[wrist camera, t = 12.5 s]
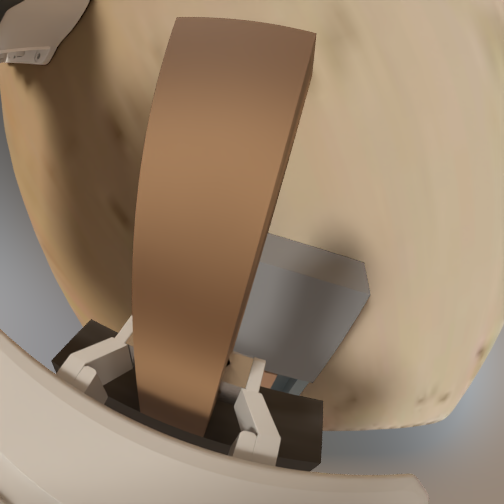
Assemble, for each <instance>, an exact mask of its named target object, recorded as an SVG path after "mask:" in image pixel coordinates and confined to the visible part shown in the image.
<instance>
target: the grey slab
mask: <svg viewBox="0 0 504 504" xmlns="http://www.w3.org/2000/svg"><path fill="white" fill-rule="evenodd" d="M369 296H370V290H369V285H368V280H367V275H366V270H365V265H364V263H363V262H360V261H357V260H354V259H351V258H348V257H345V256H341V255H338V254H335V253H332V252H329V251H326V250H322V249H319V248H316V247H313V246H309V245H306V244H303V243H300V242H296V241H293V240H290V239H286V238H283V237H280V236H276V235H273V234H270V233H268V234H267V238H266V241H265V244H264V248H263V251H262V255H261V258H260V262H259V265H258V268H257V272H256V275H255V279H254V282H253V285H252V289H251V292H250V296H249V299H248V302H247V306H246V309H245V312H244V316H243V319H242V322H241V326H240V329H239V332H238V336H237V339H236V342H235V346H234V349H233V351H236V352H240V353H243V354H247V355H250V356H254V357H256V358H259V359H263V360H266V364H265V369H264V371H268V372H272V373H275V374H279V375H283V376H286V377H290V378H294V379H298V380H302V381H307V382H311V383H313V382H314V380H315V379H316V378H317V376H318V375H319V374H320V372H321V371H322V369H323V368H324V367H325V365H326V364H327V362H328V361H329V359H330V358H331V357H332V355H333V354H334V352H335V351H336V349H337V348H338V346H339V345H340V343H341V342H342V340H343V339H344V337H345V336H346V334H347V332H348V331H349V329H350V328H351V326H352V324H353V323H354V321H355V320H356V318H357V316H358V315H359V313H360V311H361V310H362V308H363V306H364V305H365V303H366V301H367V299H368V298H369Z"/></svg>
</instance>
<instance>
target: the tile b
mask: <svg viewBox="0 0 504 504" xmlns="http://www.w3.org/2000/svg"><path fill="white" fill-rule="evenodd" d="M277 375H278V374H275V373H272V372H268V371H264V373H263V377H262V381H261V385H260V386H262V387H265V388H269V389H270V388H271V386H272V384H273V382H274V381H275V379H276V377H277Z"/></svg>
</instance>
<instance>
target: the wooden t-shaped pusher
mask: <svg viewBox="0 0 504 504" xmlns="http://www.w3.org/2000/svg"><path fill="white" fill-rule="evenodd" d="M315 42H316V33H313V32H309V31H304V30H300V29H295V28H291V27H286V26H280V25H275V24H269V23H262V22H255V21H247V20H237V19H225V18H207V17H177V18H176V21H175V24H174V27H173V30H172V33H171V36H170V39H169V42H168V45H167V49H166V52H165V55H164V59H163V62H162V66H161V70H160V73H159V77H158V81H157V85H156V89H155V93H154V98H153V102H152V107H151V111H150V116H149V121H148V126H147V132H146V137H145V143H144V149H143V155H142V162H141V169H140V176H139V184H138V193H137V202H136V213H135V225H134V240H133V261H132V323H133V344H134V359H135V368H134V367H133V369H131V370H129V371H127V372H126V373H124V374H122V375H121V376H119V377H117V378H115V379H114V380H112V381H110V382H108V383H107V384H105V385H103V387H104V389H105V391H106V393H107V396H108V398H107V400H106V402H105V403H104V405H106V406H107V407H109V408H111V409H113V410H115V411H117V412H119V413H121V414H123V415H125V416H127V417H129V418H131V419H133V420H135V421H137V422H139V423H141V424H143V425H145V426H148V427H150V428H152V429H154V430H157V431H159V432H162V433H164V434H166V435H169V436H171V437H174V438H177V439H179V440H182V441H185V442H187V443H190V444H193V445H196V446H199V447H202V448H205V449H208V450H211V451H215V452H218V453H221V454H225V455H228V453H229V450H230V447H231V445H232V444H233V442H234V441H235V440H236V438H237V437H238V435H239V433H240V432H241V429H240V426H239V423H238V419H237V416H236V412H235V409H234V406H233V405H230V404H227V403H224V402H221V401H218V400H216V397H217V393H218V390H219V386H220V382H221V379H222V376H223V374H224V371H225V368H226V367H227V363H228V360H229V357H230V354H231V351H232V350H233V349H234V346H235V342H236V339H237V336H238V332H239V329H240V326H241V322H242V319H243V316H244V312H245V309H246V306H247V302H248V299H249V296H250V292H251V289H252V285H253V282H254V279H255V275H256V272H257V268H258V265H259V262H260V258H261V255H262V251H263V248H264V244H265V241H266V238H267V234H268V231H269V227H270V224H271V220H272V217H273V213H274V210H275V206H276V203H277V199H278V196H279V192H280V189H281V185H282V182H283V178H284V175H285V171H286V168H287V164H288V161H289V157H290V153H291V150H292V146H293V143H294V139H295V136H296V132H297V128H298V125H299V121H300V117H301V114H302V110H303V107H304V103H305V99H306V96H307V92H308V88H309V85H310V81H311V77H312V71H313V61H314V52H315ZM117 334H118V333H117V332H115V331H113V330H111V329H109V328H107V327H105V326H103V325H101V324H99V323H97V322H95V321H94V320H92V319H91V320H90V321H89V322H88V323H87V324H86V325H85V326H84V327H83V328H82V329H81V330H80V331H79V332H78V333H77V335H75V336H74V337H73V338H72V340H71V341H70V342H69V343H68V344H67V345H66V346H65V347H64V348H63V349H62V350H61V351H60V352H59V353H58V354H57V355H56V356H55V357H54V358H53V360H52V363H53V366H54V369H55V371H56V373H57V372H58V370H59V369H60V368H61V366H62V365H63V364H64V362H65V361H66V360H67V358H68V357H69V355H70V354H72V353H74V352H77V351H79V350H82V349H84V348H87V347H89V346H92V345H94V344H97V343H99V342H101V341H104V340H106V339H109V338H111V337H113V338H115V337H116V336H117ZM259 393H261V394H262V395H263V398H264V400H265V402H266V405H267V407H268V410H269V412H270V414H271V417H272V419H273V421H274V424H275V426H276V428H277V431H278V433H279V435H280V438H281V441H280V446H279V451H278V455H277V460H276V465H275V466H276V467H282V468H288V469H295V470H302V471H311V470H312V469H314V468H315V467H316V466H318V465H319V464H320V463H321V449H322V425H323V401H321V400H316V399H311V398H307V397H302V396H298V395H293V394H289V393H285V392H281V391H277V390H273V389H269V388H265V387H262V386H260V389H259Z"/></svg>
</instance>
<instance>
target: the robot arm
mask: <svg viewBox="0 0 504 504" xmlns="http://www.w3.org/2000/svg"><path fill="white" fill-rule="evenodd" d="M89 1H90V0H0V63H1V62H6V63H26V64H39V65H46V64H48V63H49V61H50V60H51V58H52V56H53V54H54V52H55V50H56V48H57V46H58V45H59V44H60V42H61V41H62V40H63V39H64V38H65V37H66V36H67V35H68V33H69V32H70V31H71V30H72V29H73V27H74V26H75V25H76V23H77V22H78V20H79V19H80V17H81V16H82V14H83V12H84V11H85V9H86V7H87V5H88V3H89ZM265 364H266V360H263V359H259V358H256V357H254V356H250V355H247V354H243V353H240V352H236V351H233V350H232V351H231V354H230V357H229V360H228V363H227V367H226V368H225V371H224V374H223V376H222V379H221V382H220V386H219V390H218V393H217V397H216V400H218V401H221V402H224V403H227V404H230V405H233V406H234V409H235V412H236V416H237V419H238V423H239V426H240V429H241V432H240V433H239V435H238V437H237V438H236V440H235V441H234V442H233V444H232V445H231V447H230V450H229V453H228V455H225V454H221V453H218V452H215V451H211V450H208V449H205V448H202V447H199V446H196V445H193V444H190V443H187V442H185V441H182V440H179V439H177V438H174V437H171V436H169V435H166V434H164V433H162V432H159V431H157V430H154V429H152V428H150V427H148V426H145V425H143V424H141V423H139V422H137V421H135V420H133V419H131V418H129V417H127V416H125V415H123V414H121V413H119V412H117V411H115V410H113V409H111V408H109V407H107V406H106V405H104V403H105V402H106V400H107V398H108V396H107V393H106V391H105V389H104V387H103V385H105V384H107V383H108V382H110V381H112V380H114V379H115V378H117V377H119V376H121V375H122V374H124V373H126V372H127V371H129V370H131V369H133V367H134V368H135V359H134V344H133V323H132V315H131V316H130V318H129V319H128V321H127V322H126V323H125V325H124V326H123V327H122V329H121V330H120V332H119V333H118V334H117V336H116V337H115V338H113V337H111V338H109V339H106V340H104V341H101V342H99V343H97V344H94V345H92V346H89V347H87V348H84V349H82V350H79V351H77V352H74V353H72V354H70V355H69V357H68V358H67V360H66V361H65V362H64V364H63V365H62V366H61V368H60V369H59V370H58V372H57V373H56V374H55V373H53V372H52V371H50V370H49V369H47V368H46V367H45V366H44V365H42V364H41V363H40V362H38V361H37V360H36V359H34V358H33V357H32V356H31V355H29V354H28V353H27V352H26V351H25V350H23V349H22V348H21V347H20V346H19V345H17V344H16V343H15V342H14V341H13V340H12V339H10V338H9V337H8V336H7V335H6V334H5V333H4V332H3V331H2V330H1V329H0V504H429V497H428V493H427V492H426V490H425V488H424V487H423V486H422V484H421V482H420V481H419V480H418V478H417V477H416V476H415V475H413V474H396V475H345V474H344V475H343V474H330V473H329V474H328V473H319V472H310V471H302V470H295V469H288V468H282V467H276V466H275V465H276V460H277V455H278V451H279V446H280V441H281V438H280V435H279V433H278V431H277V428H276V426H275V424H274V421H273V419H272V417H271V414H270V412H269V410H268V407H267V405H266V402H265V400H264V398H263V395H262V394H261V393H259V389H260V385H261V381H262V377H263V373H264V369H265Z"/></svg>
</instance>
